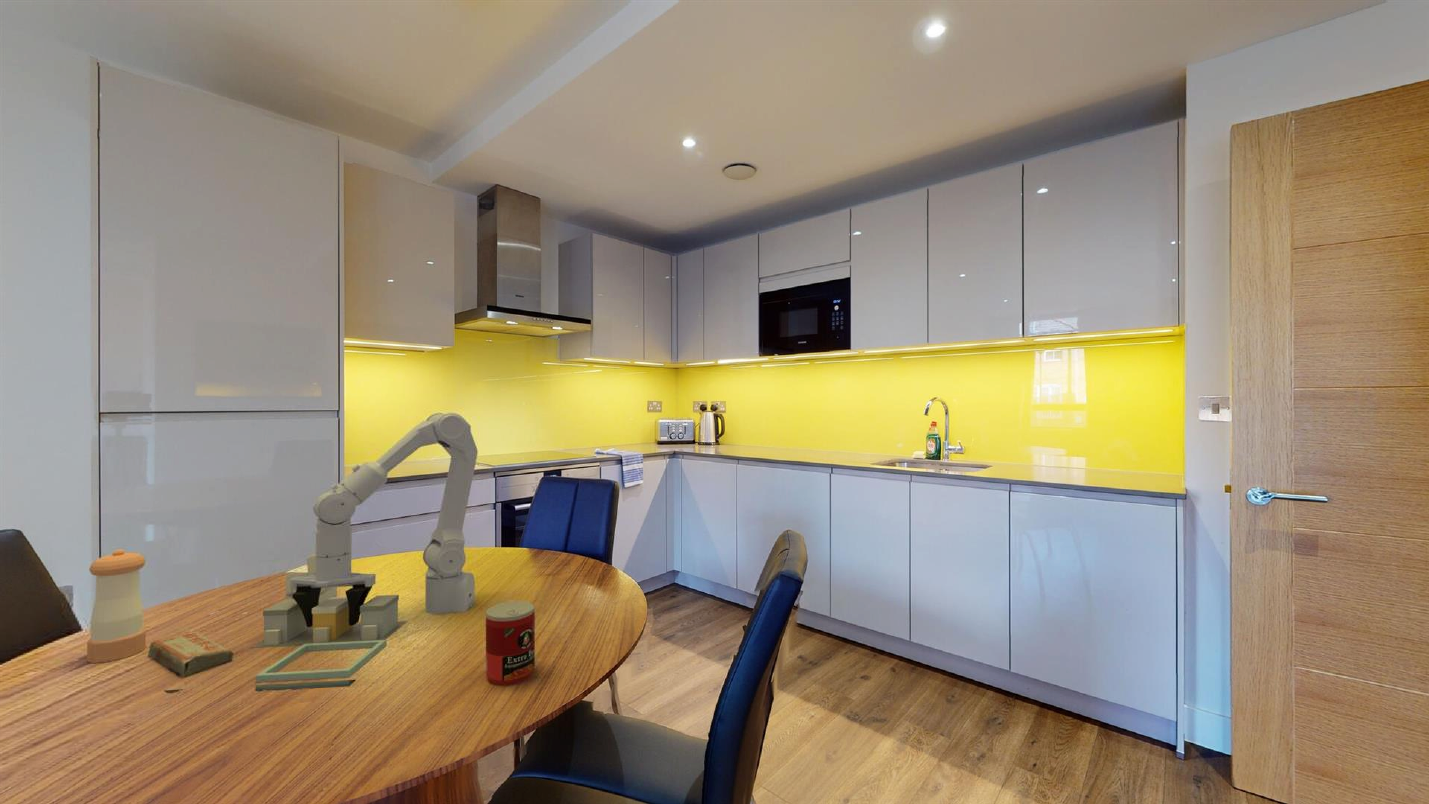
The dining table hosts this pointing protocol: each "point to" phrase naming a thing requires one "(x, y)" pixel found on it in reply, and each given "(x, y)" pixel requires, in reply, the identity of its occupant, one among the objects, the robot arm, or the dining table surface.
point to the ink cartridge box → (308, 571)
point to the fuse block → (324, 636)
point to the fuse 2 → (380, 613)
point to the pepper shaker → (116, 608)
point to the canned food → (510, 642)
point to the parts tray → (273, 675)
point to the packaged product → (188, 653)
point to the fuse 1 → (285, 619)
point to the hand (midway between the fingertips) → (333, 624)
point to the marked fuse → (332, 616)
